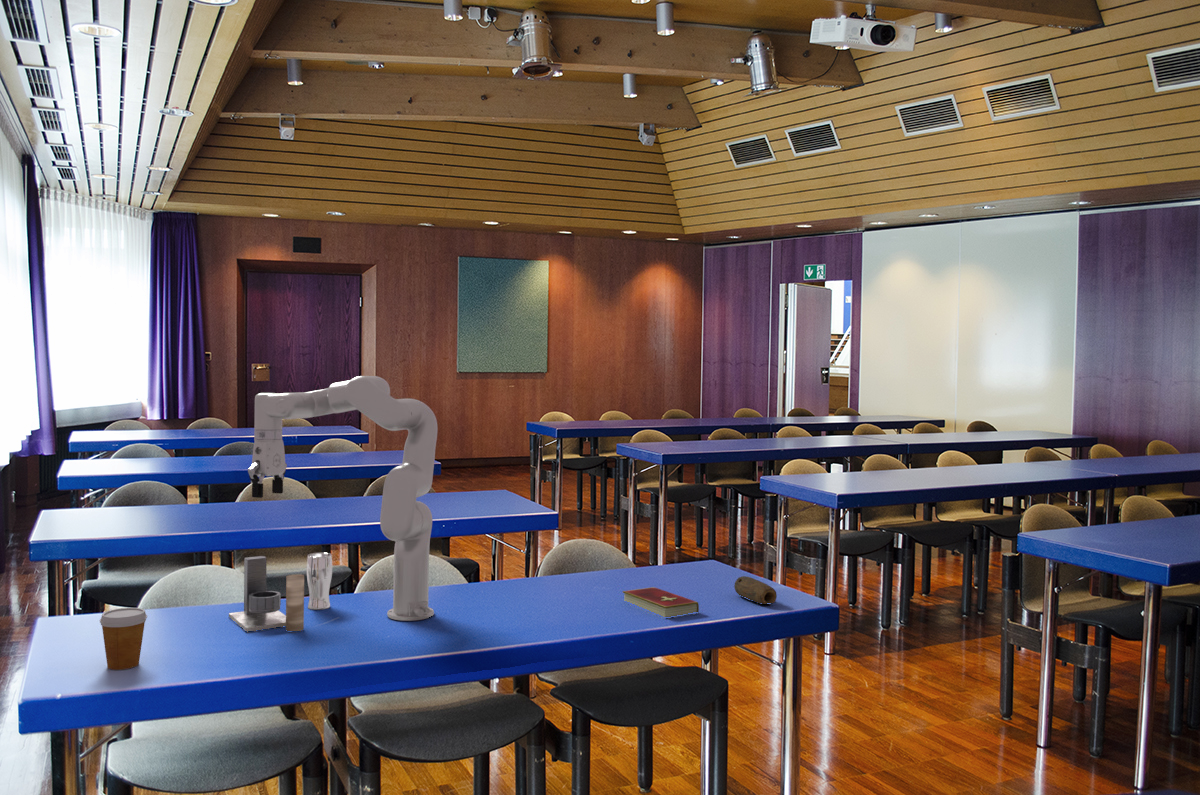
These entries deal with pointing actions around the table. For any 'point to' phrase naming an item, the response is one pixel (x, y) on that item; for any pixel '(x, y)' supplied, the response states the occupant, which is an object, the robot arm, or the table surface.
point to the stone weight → (755, 590)
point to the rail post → (295, 602)
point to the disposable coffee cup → (123, 636)
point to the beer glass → (319, 580)
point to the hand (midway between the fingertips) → (267, 495)
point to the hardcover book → (661, 601)
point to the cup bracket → (258, 599)
